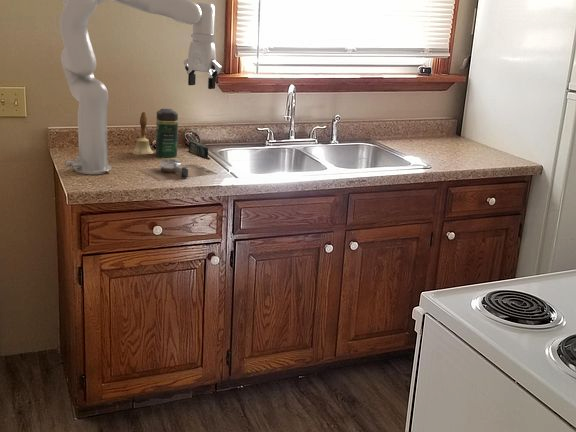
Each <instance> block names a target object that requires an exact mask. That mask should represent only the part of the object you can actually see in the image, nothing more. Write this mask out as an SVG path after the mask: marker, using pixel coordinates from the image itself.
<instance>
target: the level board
mask: <svg viewBox="0 0 576 432" xmlns="http://www.w3.org/2000/svg"><path fill="white" fill-rule="evenodd" d="M181 166H182V167H187V168H188V177H181V175H179V174H177V173H175V172H164V171H161V167H153V168H145V169H138V171H139V172H141V173H143V174H146V175H147V176H149V177H151V178H152V179H155V180H157V181H158V182H161V181H170V180H177V179H186V178H187V179H188V178H195V177H203V176H212V175H219V173H217V172H215V171H212V170H211V169H209V168H206V167H204V166H202V165H201V164H198V163H191V164H181Z"/></svg>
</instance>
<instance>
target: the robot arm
mask: <svg viewBox="0 0 576 432" xmlns="http://www.w3.org/2000/svg"><path fill="white" fill-rule="evenodd" d="M106 1H107V0H62V4H63V9H62V11H61V14H60V18H59V30H60V35H61V38H62V39H61V40H62V42H63V47H64V48H63V49H62V51H61V54H60V61H61V63H60V64H61V66H62V69H63V72H64V76H65V78H66V82H67V86H68V88H69V91H70V94H71V95H72V97H73V99H75V100H76V101H77V102H78V108H77V109H78V111H77V133H78V135H77V136H78V141H77V142H78V156H76V157H75V159H74V160H65V161H64V165H65V167H71V168H74V171H75V173H78V174H84V175H105V174H108V173H109V172H110V171H109V170H111V169H112V168H113V167H112V165H111V164H108V108H109V107H108V105H109V92H108V91H109V90H108V88H107V87H106V85H105V84H104V83H103V81H101V80H99V79H97V78H95V74H94V72H95V71H96V69H97V57H96V54H95V51H94V48H93V45H92V41H91V38H90V33H89V29H88V24H89V20H90V18H91V16H92V15H93V14H94V13H95V12H96V10H97V7H98V5H100V4H102V3H103V2H106ZM110 1H111V2H115V3H118V4H120V5H123V6H126V7H129V8H132V9H135V10H138V11H141V12H145V13H149V14H152V15H159V16H163V17H165V18H166V17H167V18H170V19H172V20H174V21H175V22H177V23H180V24H186V25H192V34H191V38H192V41H190V44H189V46H188V47H189V48H188V57H187V58H186V59H185V60H184V61H183V65H184V69H185V70H186V73H187V74H188V76H187V77H188V78H187V85H188V86H196V78H197V77H196V72H202V73H203V72H204V73H207V74H208V76H209V77H208V79H207V80H208V81H207V82H208V83H207V88H208V89H209V90H214V89H216V78H218V76H219V74H220V73H221V70H222V68H223V67H222V65H220V64H219V63H218V62H217V54H216V53H217V52H216V51H217V50H216V46H215V45H216V43H215V42H214V40H215V39H214V38H215V12H216V6H215V5H214V3H210V2H194V1H192V0H110Z"/></svg>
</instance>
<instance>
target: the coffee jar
mask: <svg viewBox="0 0 576 432" xmlns="http://www.w3.org/2000/svg"><path fill="white" fill-rule="evenodd" d="M178 115H179V114H178V112H176V111H175V110H173V109H172V108H161V109H159V110H157V112H156V125H155V126H156V131H155V132H156V134H155V135H156V136H155V137H156V139H155V141H156V143H155V155H156V157H158V158H161V159H163V158H164V159H168V158H169V159H174V158H177V157H178V133H179V130H178V128H179V120H178V119H179V118H178V117H179V116H178Z"/></svg>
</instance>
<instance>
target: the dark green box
mask: <svg viewBox="0 0 576 432" xmlns="http://www.w3.org/2000/svg"><path fill="white" fill-rule="evenodd" d="M188 152H189V153H191V154H193V155H195V156H196V157H199V158H201V159H202V158H203V159H204V158H205V159H207V160H211V157H209V147H208V146H207V145H205V144H203V143H201V142H198V141H197V140H189V141H188Z"/></svg>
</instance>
